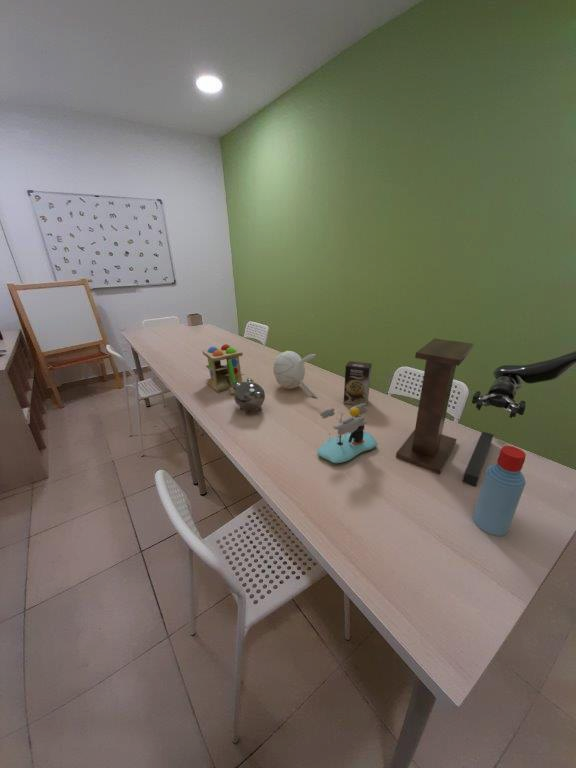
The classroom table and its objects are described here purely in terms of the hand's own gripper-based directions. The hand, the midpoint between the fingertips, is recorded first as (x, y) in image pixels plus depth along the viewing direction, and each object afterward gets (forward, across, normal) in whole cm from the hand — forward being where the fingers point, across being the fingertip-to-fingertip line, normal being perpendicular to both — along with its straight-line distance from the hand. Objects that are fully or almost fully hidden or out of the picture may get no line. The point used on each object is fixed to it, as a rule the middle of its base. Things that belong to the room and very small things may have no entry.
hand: (494, 411), depth 94 cm
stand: (+20, +13, -9) cm, 26 cm away
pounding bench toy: (+24, +99, -9) cm, 102 cm away
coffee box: (+4, +45, -9) cm, 46 cm away
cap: (+40, -6, +7) cm, 41 cm away
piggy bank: (+34, +75, -9) cm, 83 cm away
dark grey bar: (+17, 0, -9) cm, 19 cm away
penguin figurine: (+34, +32, -9) cm, 48 cm away
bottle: (+40, -6, -9) cm, 41 cm away
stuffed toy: (+10, +72, -9) cm, 73 cm away
